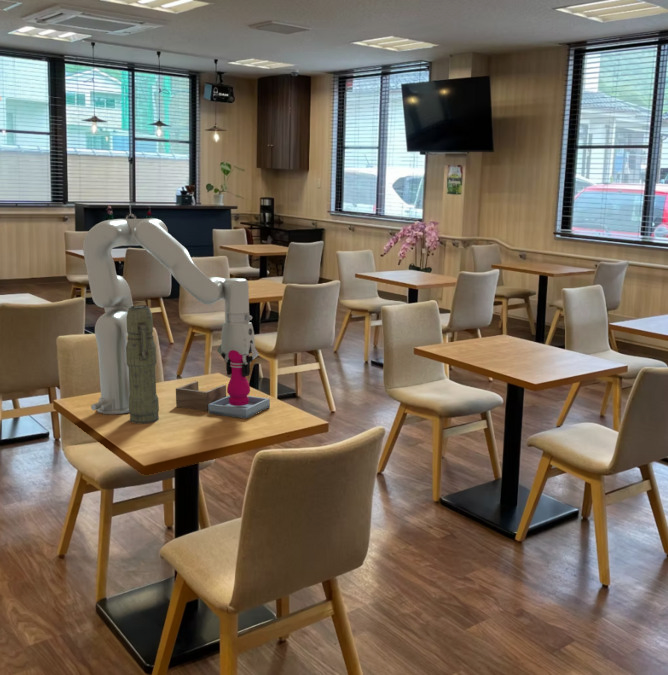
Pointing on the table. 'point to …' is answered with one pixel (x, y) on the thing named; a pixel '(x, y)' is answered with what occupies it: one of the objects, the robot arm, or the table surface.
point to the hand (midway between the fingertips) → (238, 374)
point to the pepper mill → (237, 381)
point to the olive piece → (141, 365)
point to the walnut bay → (198, 396)
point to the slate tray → (239, 407)
